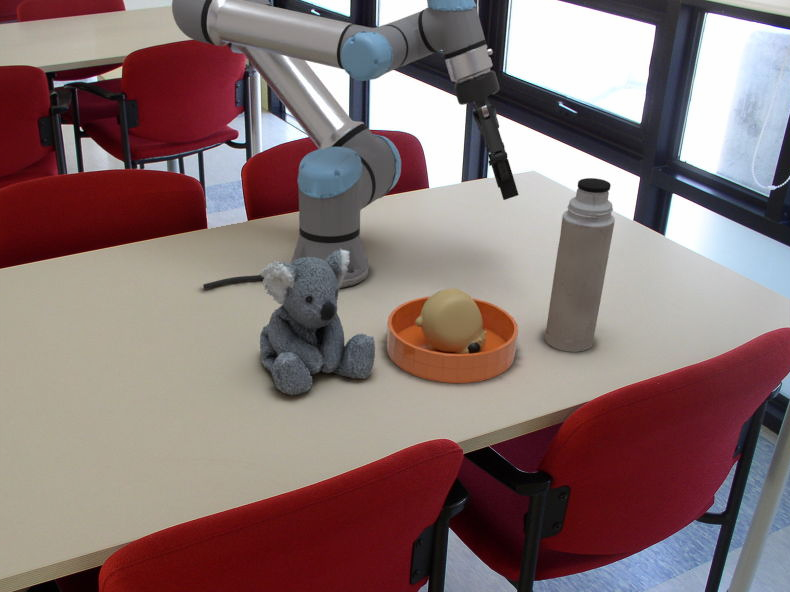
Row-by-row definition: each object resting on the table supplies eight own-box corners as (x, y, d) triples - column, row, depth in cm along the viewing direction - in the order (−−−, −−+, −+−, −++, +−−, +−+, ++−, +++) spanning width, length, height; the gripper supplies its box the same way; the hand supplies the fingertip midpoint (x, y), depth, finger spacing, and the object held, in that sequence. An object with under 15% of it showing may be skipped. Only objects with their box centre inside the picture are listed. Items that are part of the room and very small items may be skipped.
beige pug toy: (443, 380, 150) (495, 352, 143) (398, 325, 147) (449, 294, 141) (457, 351, 157) (507, 323, 151) (415, 298, 155) (464, 268, 148)
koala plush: (283, 404, 137) (280, 287, 127) (236, 352, 151) (230, 243, 141) (381, 377, 144) (385, 264, 134) (328, 330, 158) (329, 224, 148)
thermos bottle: (547, 326, 159) (570, 171, 144) (594, 333, 156) (622, 176, 142) (542, 347, 152) (565, 187, 138) (590, 355, 150) (619, 193, 135)
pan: (382, 378, 144) (383, 350, 141) (391, 317, 162) (392, 292, 159) (517, 387, 141) (521, 359, 139) (511, 324, 159) (514, 299, 157)
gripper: (499, 71, 147) (535, 195, 153) (489, 65, 170) (521, 174, 176) (454, 88, 148) (492, 210, 155) (451, 80, 171) (484, 187, 178)
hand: (508, 191), depth 165 cm, fingers open, 13 cm apart
